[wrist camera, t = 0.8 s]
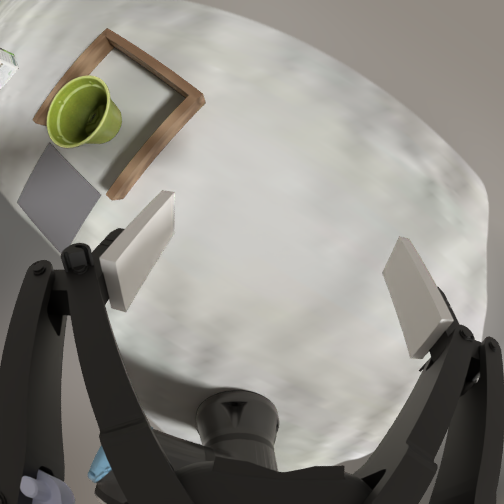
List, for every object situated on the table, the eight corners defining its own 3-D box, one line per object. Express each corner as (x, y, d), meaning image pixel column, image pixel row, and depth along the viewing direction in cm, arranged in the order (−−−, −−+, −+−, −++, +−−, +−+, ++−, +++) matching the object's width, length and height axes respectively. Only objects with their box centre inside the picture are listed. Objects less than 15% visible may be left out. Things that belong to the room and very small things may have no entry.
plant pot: (99, 86, 32) (73, 67, 23) (145, 107, 33) (123, 88, 25) (68, 139, 33) (36, 131, 25) (111, 165, 35) (81, 160, 26)
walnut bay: (123, 198, 36) (111, 200, 32) (46, 123, 32) (32, 119, 28) (205, 102, 34) (202, 93, 30) (115, 38, 30) (106, 28, 26)
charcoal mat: (63, 255, 37) (63, 256, 37) (17, 202, 34) (17, 202, 34) (101, 195, 35) (101, 195, 35) (49, 142, 33) (49, 142, 32)
